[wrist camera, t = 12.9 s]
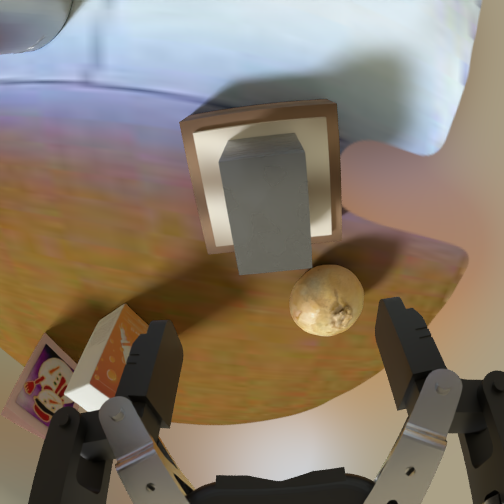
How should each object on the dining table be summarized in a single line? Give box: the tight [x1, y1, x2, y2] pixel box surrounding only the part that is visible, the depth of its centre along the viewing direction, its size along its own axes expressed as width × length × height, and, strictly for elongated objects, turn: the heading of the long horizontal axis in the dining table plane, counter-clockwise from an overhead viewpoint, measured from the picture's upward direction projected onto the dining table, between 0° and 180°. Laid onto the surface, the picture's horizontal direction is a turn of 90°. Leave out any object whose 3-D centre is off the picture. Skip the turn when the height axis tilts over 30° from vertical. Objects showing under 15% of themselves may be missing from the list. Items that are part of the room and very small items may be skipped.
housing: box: [218, 133, 312, 275], centre depth 23 cm, size 9×5×6 cm, turn 8°
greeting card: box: [1, 333, 79, 439], centre depth 40 cm, size 11×7×15 cm, turn 27°
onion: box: [289, 265, 364, 336], centre depth 33 cm, size 8×8×7 cm
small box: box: [64, 304, 149, 412], centre depth 35 cm, size 8×6×13 cm
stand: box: [179, 99, 342, 254], centre depth 27 cm, size 12×12×4 cm
